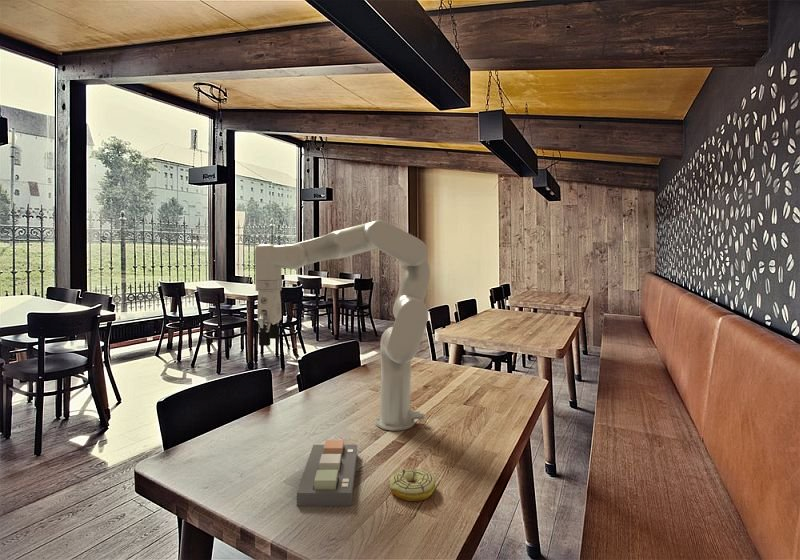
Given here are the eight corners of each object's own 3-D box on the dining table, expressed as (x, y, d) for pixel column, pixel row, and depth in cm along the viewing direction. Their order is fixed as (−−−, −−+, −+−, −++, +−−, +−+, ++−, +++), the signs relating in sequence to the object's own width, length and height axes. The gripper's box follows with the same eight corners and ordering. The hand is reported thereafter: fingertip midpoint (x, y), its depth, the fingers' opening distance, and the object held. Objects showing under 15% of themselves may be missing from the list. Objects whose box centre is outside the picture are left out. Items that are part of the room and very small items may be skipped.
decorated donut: (398, 477, 113) (398, 462, 113) (439, 485, 110) (440, 470, 110) (383, 498, 103) (383, 482, 103) (428, 508, 100) (429, 491, 100)
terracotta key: (343, 450, 122) (343, 440, 122) (342, 459, 117) (342, 448, 117) (325, 450, 122) (325, 440, 122) (323, 459, 117) (323, 448, 117)
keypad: (357, 455, 124) (357, 443, 124) (351, 505, 100) (351, 491, 100) (313, 455, 123) (313, 443, 123) (296, 506, 100) (296, 492, 99)
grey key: (340, 465, 114) (341, 453, 114) (339, 475, 109) (339, 463, 109) (321, 465, 114) (321, 453, 114) (319, 475, 109) (319, 463, 109)
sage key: (337, 481, 106) (337, 469, 106) (335, 493, 101) (335, 480, 101) (317, 482, 106) (317, 469, 106) (314, 493, 101) (314, 480, 101)
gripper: (273, 288, 127) (274, 348, 128) (287, 283, 144) (288, 336, 145) (246, 288, 127) (247, 348, 128) (264, 282, 144) (264, 335, 145)
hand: (269, 341), depth 137 cm, fingers open, 9 cm apart
